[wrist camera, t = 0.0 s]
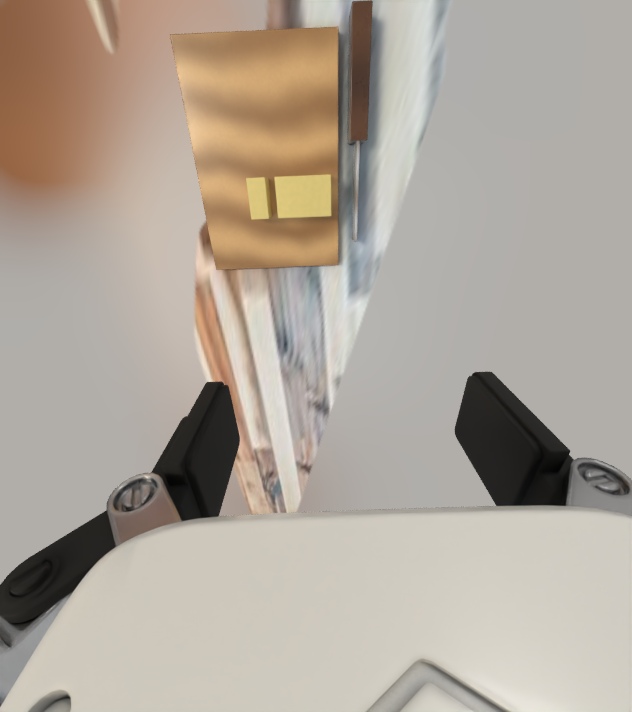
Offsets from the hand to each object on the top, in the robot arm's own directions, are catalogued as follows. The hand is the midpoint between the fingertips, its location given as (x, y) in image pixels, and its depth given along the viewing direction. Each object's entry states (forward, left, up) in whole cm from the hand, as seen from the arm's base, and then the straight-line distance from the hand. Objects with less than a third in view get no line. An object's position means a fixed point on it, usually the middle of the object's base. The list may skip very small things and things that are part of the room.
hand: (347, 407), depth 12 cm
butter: (-7, -2, -30) cm, 31 cm away
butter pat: (-7, -7, -30) cm, 32 cm away
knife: (-12, +4, -31) cm, 34 cm away
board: (-10, -6, -31) cm, 33 cm away
